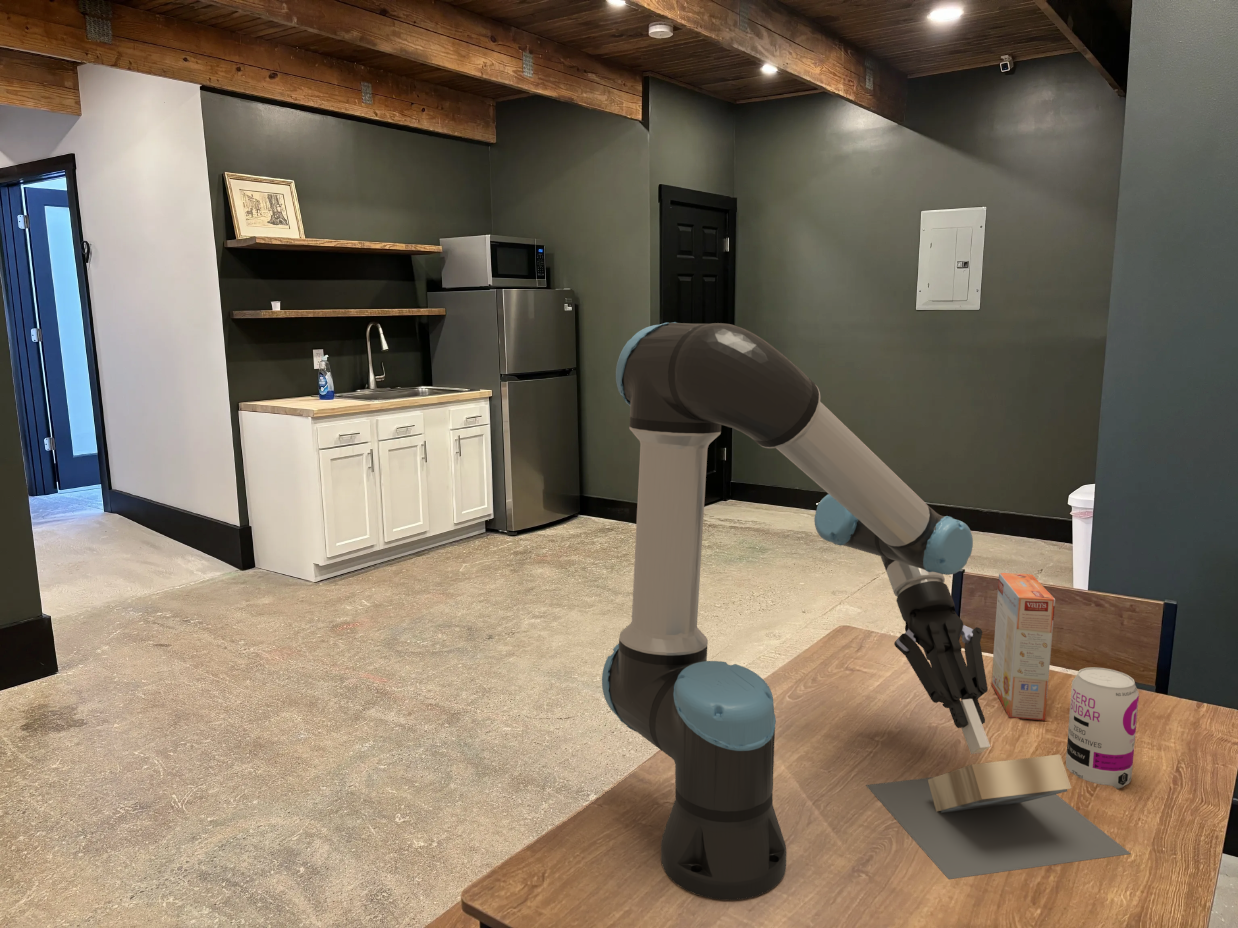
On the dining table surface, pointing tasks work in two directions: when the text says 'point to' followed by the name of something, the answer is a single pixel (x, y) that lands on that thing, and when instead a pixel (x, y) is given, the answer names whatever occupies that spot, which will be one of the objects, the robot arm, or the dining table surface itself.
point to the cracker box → (1022, 645)
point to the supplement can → (1102, 726)
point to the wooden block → (999, 783)
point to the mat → (994, 832)
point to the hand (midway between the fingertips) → (980, 750)
